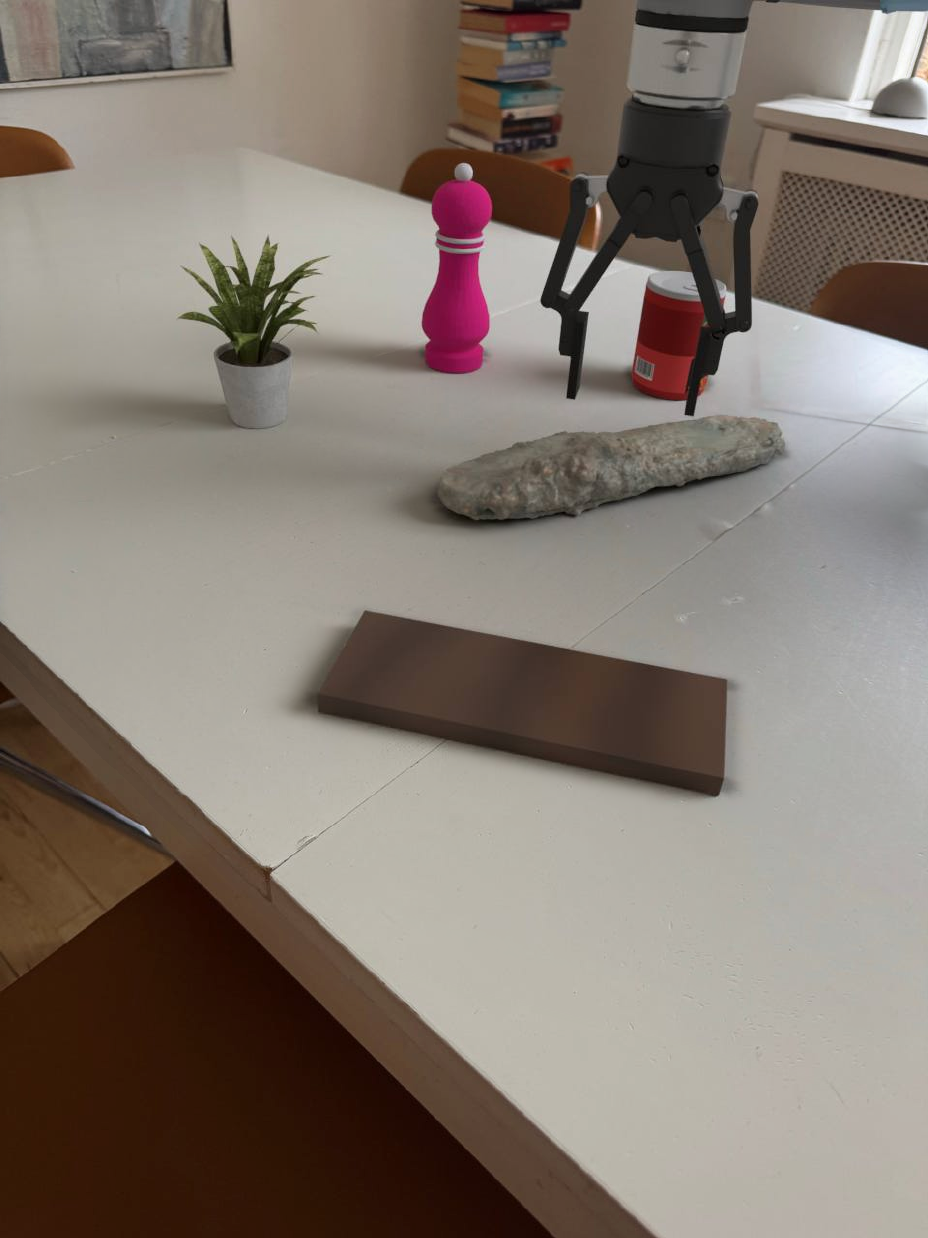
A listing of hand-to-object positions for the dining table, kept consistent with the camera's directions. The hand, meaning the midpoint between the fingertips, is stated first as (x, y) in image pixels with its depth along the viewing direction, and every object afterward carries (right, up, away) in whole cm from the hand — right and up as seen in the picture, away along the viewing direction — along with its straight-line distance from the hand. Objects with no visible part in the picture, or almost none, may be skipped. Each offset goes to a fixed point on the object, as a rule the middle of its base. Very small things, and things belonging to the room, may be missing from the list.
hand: (630, 400), depth 81 cm
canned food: (+8, +6, +22) cm, 24 cm away
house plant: (-33, 0, +10) cm, 34 cm away
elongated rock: (0, -6, +4) cm, 8 cm away
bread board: (-10, -24, -21) cm, 33 cm away
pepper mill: (-15, +9, +24) cm, 30 cm away
